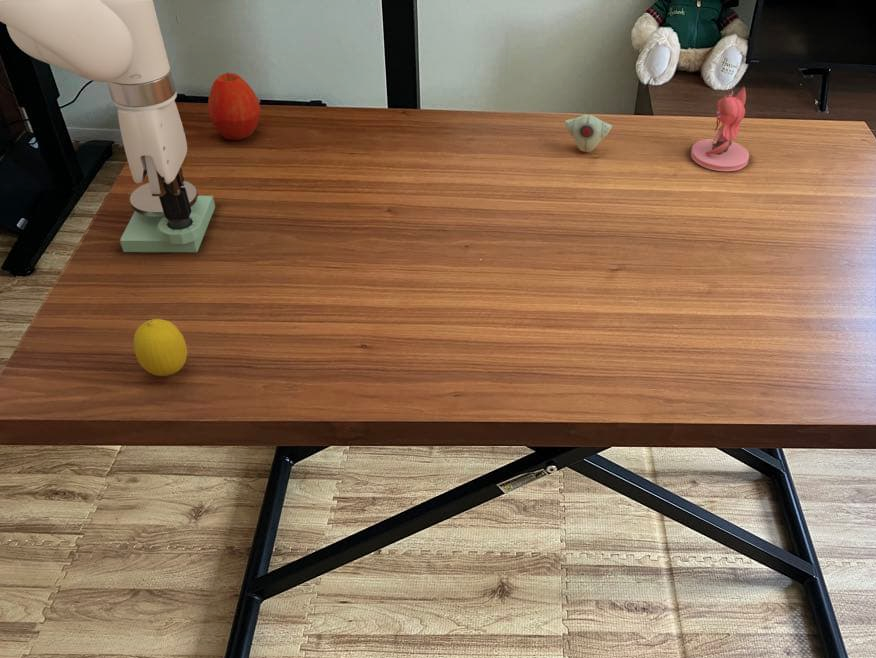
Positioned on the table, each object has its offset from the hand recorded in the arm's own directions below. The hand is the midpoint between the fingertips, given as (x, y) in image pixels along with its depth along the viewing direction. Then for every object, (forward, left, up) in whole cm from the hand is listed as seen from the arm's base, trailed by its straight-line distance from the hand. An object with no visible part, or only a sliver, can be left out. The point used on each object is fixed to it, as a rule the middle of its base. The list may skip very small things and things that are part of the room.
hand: (178, 215), depth 120 cm
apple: (+20, +26, -5) cm, 33 cm away
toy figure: (+83, -25, -5) cm, 87 cm away
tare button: (0, 0, -2) cm, 2 cm away
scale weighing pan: (0, +7, -1) cm, 7 cm away
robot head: (+65, -11, -5) cm, 66 cm away
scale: (0, +5, -5) cm, 7 cm away
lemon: (-12, -25, -5) cm, 28 cm away
